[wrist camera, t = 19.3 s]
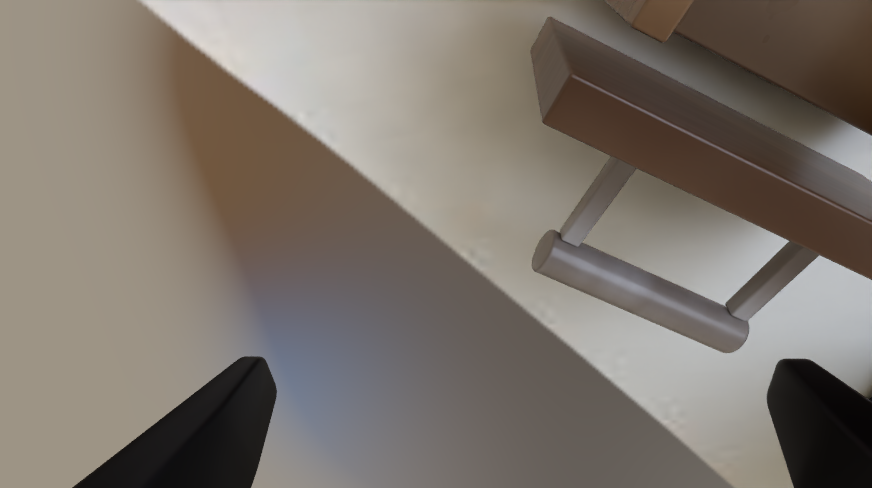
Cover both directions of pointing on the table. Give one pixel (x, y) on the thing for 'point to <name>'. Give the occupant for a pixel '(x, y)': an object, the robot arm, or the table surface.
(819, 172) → the drawer
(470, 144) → the table surface
